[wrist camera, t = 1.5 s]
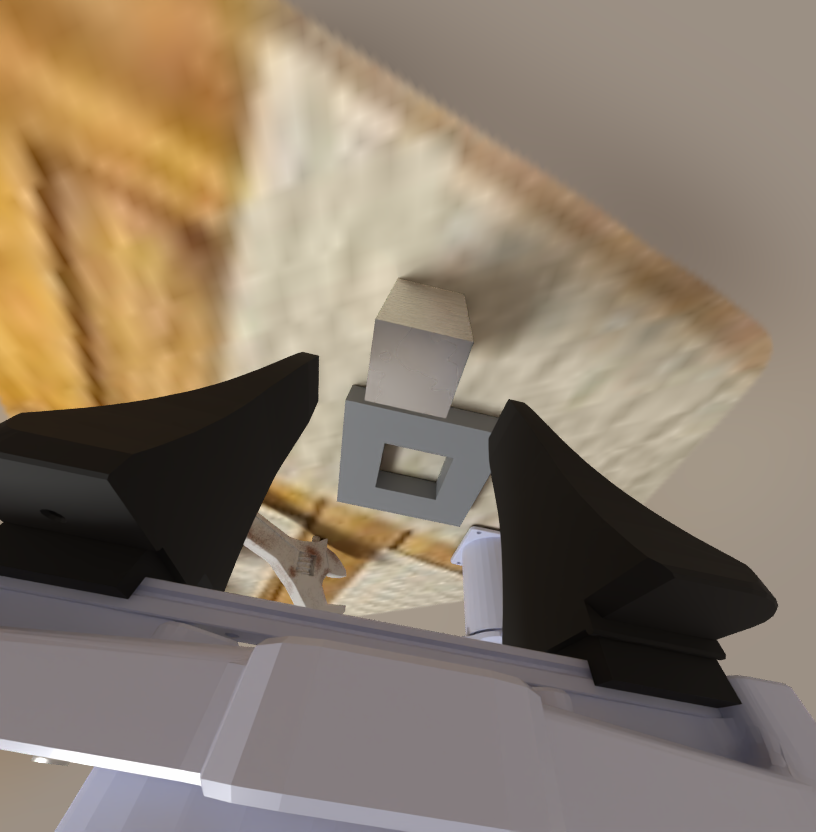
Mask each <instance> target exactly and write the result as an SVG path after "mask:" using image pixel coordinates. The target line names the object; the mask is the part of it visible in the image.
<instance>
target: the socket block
mask: <svg viewBox="0 0 816 832" xmlns="http://www.w3.org/2000/svg"><path fill="white" fill-rule="evenodd" d="M365 393H366V388H364V387H360V386H355V385H352V388H351V390H350V392H349V394H348V396H347V398H346V401H345V413H344V425H343V437H342V449H341V461H340V473H339V485H338V497H337V501H338V502H343V503H348V504H352V505H357V506H362V507H367V508H372V509H377V510H381V511H386V512H391V513H396V514H401V515H405V516H410V517H415V518H420V519H425V520H430V521H434V522H439V523H444V524H449V525H454V526H459V527H460V525H461V524H462V522H463V520H464V518H465V517H466V515H467V513H468V511H469V510H470V508H471V506H472V505H473V503H474V501H475V499H476V498H477V496H478V494H479V492H480V491H481V489H482V487H483V486H484V484H485V482H486V480H487V479H488V477H489V475H490V473H491V470H490V464H489V451H488V438H489V436H490V434H491V432H492V431H493V429H494V427H495V425H496V423H497V421H498V419H499V418H497V417H492V416H488V415H484V414H479V413H475V412H470V411H466V410H461V409H457V408H453V407H450V409H449V411H448V414H447V417H446V418H442V417H437V416H433V415H428V414H424V413H419V412H415V411H410V410H406V409H401V408H397V407H392V406H388V405H384V404H379V403H375V402H370V401H366V400H365ZM385 443H386V444H391V445H395V446H400V447H404V448H409V449H414V450H418V451H423V452H427V453H432V454H436V455H441V456H446V460H445V462H444V465H443V467H442V469H441V472H440V474H439V477H438V479H437V482H432V481H427V480H423V479H418V478H413V477H409V476H404V475H399V474H394V473H390V472H385V471H380V470H379V469H380V464H381V459H382V455H383V450H384V445H385Z"/></svg>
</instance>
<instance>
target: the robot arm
mask: <svg viewBox="0 0 816 832" xmlns="http://www.w3.org/2000/svg"><path fill="white" fill-rule="evenodd" d="M318 386H319V356H318V355H313V354H309V353H305V352H301V353H297V354H295V355H292V356H290V357H287V358H285V359H282V360H280V361H278V362H275V363H273V364H270V365H268V366H266V367H263V368H261V369H258V370H256V371H253V372H250V373H247V374H245V375H242V376H239V377H236V378H234V379H231V380H228V381H225V382H222V383H218V384H215V385H211V386H208V387H204V388H200V389H196V390H192V391H188V392H183V393H178V394H173V395H168V396H164V397H159V398H154V399H148V400H142V401H135V402H129V403H121V404H114V405H106V406H97V407H88V408H77V409H65V410H53V411H41V412H27V413H20V414H18V415H15V416H13V417H12V418H10V419H8V420H6V421H4V422H2V423H0V520H1V521H3V523H2V524H1V525H0V749H2V750H8V751H13V752H20V753H24V754H30V755H36V756H41V757H47V758H52V759H58V760H63V761H69V762H74V763H80V764H86V765H91V766H94V768H93V769H92V771H91V773H90V774H89V776H88V778H87V779H86V781H85V782H84V784H83V786H82V787H81V789H80V791H79V792H78V794H77V796H76V798H75V799H74V801H73V802H72V804H71V805H70V807H69V809H68V810H67V812H66V814H65V815H64V817H63V818H62V820H61V822H60V823H59V825H58V827H57V829H56V830H55V832H816V722H815V721H814V719H813V718H812V716H811V715H810V714H809V712H808V711H807V709H806V708H805V706H804V705H803V703H802V702H801V701H800V699H799V698H798V697H797V695H796V694H795V692H794V691H793V689H792V688H791V687H790V686H788V685H786V684H784V683H779V682H773V681H768V680H763V679H758V678H753V677H747V676H738V675H734V676H726V675H725V673H724V672H723V670H722V668H721V666H720V665H719V663H718V661H717V660H723V659H726V654H725V653H724V651H723V649H722V648H721V646H720V644H719V643H718V641H717V639H720V638H722V637H725V636H728V635H731V634H734V633H737V632H740V631H743V630H746V629H749V628H751V627H754V626H756V625H759V624H761V623H764V622H765V621H767V620H768V619H770V618H771V617H772V616H773V615H774V614H775V612H776V610H777V607H778V604H777V601H776V598H774V596H773V595H772V594H771V592H770V591H769V590H768V589H767V587H766V586H765V585H764V584H763V583H762V581H761V580H760V579H759V578H758V577H757V575H756V574H755V573H754V572H753V571H752V570H751V569H750V568H749V567H748V566H747V565H746V564H744V563H742V562H740V561H738V560H736V559H734V558H733V557H731V556H729V555H727V554H725V553H723V552H721V551H719V550H718V549H716V548H714V547H712V546H710V545H709V544H707V543H705V542H703V541H701V540H699V539H698V538H696V537H694V536H692V535H690V534H689V533H687V532H685V531H684V530H682V529H680V528H679V527H677V526H675V525H674V524H672V523H670V522H669V521H667V520H665V519H664V518H662V517H661V516H659V515H658V514H656V513H654V512H653V511H651V510H650V509H648V508H647V507H645V506H644V505H642V504H641V503H639V502H638V501H636V500H635V499H634V498H632V497H631V496H629V495H628V494H626V493H625V492H623V491H622V490H621V489H619V488H618V487H617V486H615V485H614V484H613V483H611V482H610V481H609V480H608V479H606V478H605V477H604V476H602V475H601V474H600V473H599V472H597V471H596V470H595V469H594V468H592V467H591V466H590V465H589V464H588V463H587V462H585V461H584V460H583V459H582V458H581V457H580V456H579V455H578V454H577V453H576V452H574V451H573V450H572V449H571V448H570V447H569V446H568V445H567V444H566V443H565V442H564V441H563V440H562V439H561V438H560V437H559V436H558V435H557V434H556V433H555V432H554V431H553V430H552V429H551V428H550V427H549V426H548V425H547V424H546V423H545V422H544V421H543V420H542V419H541V418H540V417H539V416H538V415H537V414H536V413H535V412H534V411H533V410H532V409H531V408H530V407H529V406H528V405H526V404H525V403H523V402H519V401H514V400H510V399H508V401H507V403H506V405H505V407H504V409H503V411H502V413H501V415H500V417H499V419H498V421H497V423H496V425H495V427H494V429H493V431H492V432H491V434H490V436H489V438H488V451H489V464H490V470H491V476H492V482H493V487H494V493H495V498H496V504H497V509H498V516H499V523H500V531H496V530H491V529H486V528H481V527H476V526H472V527H471V528H470V529H469V530H468V532H467V534H466V535H465V537H464V538H463V540H462V542H461V543H460V545H459V546H458V548H457V550H456V551H455V553H454V554H453V556H452V558H451V563H453V564H457V565H462V567H463V587H464V608H465V628H466V636H462V637H460V636H455V635H449V634H445V633H439V632H434V631H429V630H423V629H418V628H413V627H407V626H402V625H396V624H391V623H386V622H380V621H375V620H370V619H365V618H360V617H355V616H349V615H344V614H339V613H333V612H328V611H323V610H318V609H312V608H307V607H302V606H296V605H291V604H286V603H281V602H275V601H270V600H265V599H259V598H254V597H249V596H243V595H238V594H233V593H228V592H224V591H225V588H226V586H227V583H228V581H229V578H230V576H231V573H232V571H233V568H234V566H235V563H236V561H237V558H238V556H239V554H240V551H241V549H242V547H243V544H244V542H245V540H246V537H247V535H248V533H249V530H250V528H251V526H252V524H253V521H254V519H255V517H256V515H257V513H258V511H259V508H260V506H261V504H262V502H263V500H264V498H265V496H266V494H267V492H268V490H269V488H270V486H271V483H272V481H273V479H274V477H275V476H276V474H277V472H278V470H279V469H280V467H281V465H282V464H283V462H284V461H285V459H286V457H287V456H288V454H289V453H290V451H291V450H292V448H293V446H294V445H295V443H296V442H297V440H298V439H299V437H300V436H301V434H302V432H303V431H304V429H305V428H306V426H307V424H308V423H309V421H310V419H311V416H312V414H313V412H314V410H315V407H316V405H317V403H318ZM238 642H243V643H248V644H254V645H257V646H256V647H242V646H239V645H238Z"/></svg>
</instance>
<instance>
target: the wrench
mask: <svg viewBox="0 0 816 832" xmlns="http://www.w3.org/2000/svg"><path fill="white" fill-rule="evenodd" d="M327 542H328V539H323V540H321V541H320V537H319V536H313V538H312V542H308V541H300V540H297V539H294V538H291V537H289V536H288V535H286V534H285V533H284V532H282V531H281V530H280V529H278V528H277V527H276V526H275V525H273V524H272V523H271V522H269V521H268V520H267V519H265V518H264V517H263V516H262V515H260V514H259V513H257V515H256V517H255V519H254V521H253V524H252V526H251V528H250V530H249V533H248V535H247V537H246V540H245V542H244V544H243V545H244V546H246V547H247V548H249V549H250V550H251V551H253V552H254V553H256V554H257V555H258V556H260V557H261V558H263V559H264V560H265V561H267V562H268V563H269V564H270V566H271V567H272V569H273V570H274V571H275V573H276V574H277V576H278V577H279V579H280V580H281V582H282V583H283V584H284V586H285V587H286V589H287V591H288V593H289V595H290V597H291V599H292V601H293V603H294V605H296V606H302V607H307V608H312V609H318V610H323V611H328V612H333V613H339V614H343V613H344V612H345V607H346V606H345V605H333V604H327V602H326V598H325V595H324V592H323V588H322V582H323V580H324V578H325V577H326V576H328V577H332V578H341V577H345V576H346V570H345V568H344V566H343V565H342V563H341V561H340V560H339V558H338V557H337V556H336V554H335V553H333V552H332V551H331V550H329V549H328V548H327Z"/></svg>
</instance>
